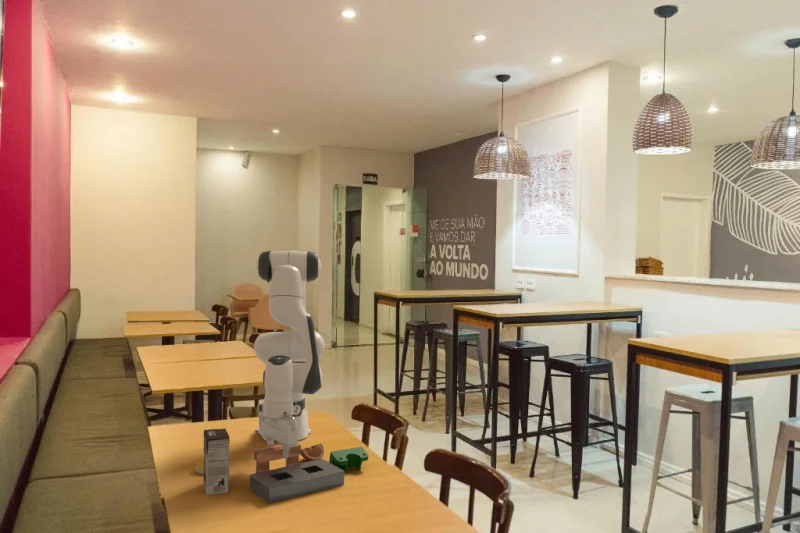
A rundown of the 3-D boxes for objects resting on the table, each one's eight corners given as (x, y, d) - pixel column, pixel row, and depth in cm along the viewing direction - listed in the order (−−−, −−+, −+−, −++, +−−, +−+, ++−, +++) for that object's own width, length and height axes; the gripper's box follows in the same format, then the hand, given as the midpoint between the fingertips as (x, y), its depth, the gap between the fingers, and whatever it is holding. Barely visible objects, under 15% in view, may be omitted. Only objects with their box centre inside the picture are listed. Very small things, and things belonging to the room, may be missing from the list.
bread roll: (197, 467, 191) (197, 454, 191) (226, 466, 193) (226, 453, 193) (192, 476, 183) (193, 463, 183) (223, 475, 185) (223, 462, 185)
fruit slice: (306, 466, 193) (307, 451, 193) (294, 461, 198) (294, 446, 198) (327, 460, 199) (327, 445, 199) (315, 455, 204) (315, 440, 204)
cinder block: (249, 488, 174) (249, 474, 174) (321, 471, 189) (322, 458, 189) (269, 503, 164) (269, 488, 164) (344, 484, 179) (344, 470, 179)
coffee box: (202, 484, 177) (203, 429, 176) (225, 481, 179) (225, 427, 179) (205, 495, 168) (206, 438, 168) (229, 492, 171) (230, 436, 171)
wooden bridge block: (253, 475, 184) (254, 449, 184) (294, 466, 193) (295, 441, 193) (259, 479, 181) (259, 453, 181) (300, 470, 189) (301, 445, 189)
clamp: (340, 486, 188) (333, 464, 185) (332, 476, 193) (325, 454, 189) (373, 467, 193) (367, 445, 189) (364, 457, 198) (358, 436, 194)
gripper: (303, 415, 180) (303, 461, 180) (273, 401, 196) (272, 443, 196) (284, 418, 176) (283, 465, 176) (255, 404, 192) (254, 447, 193)
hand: (277, 453), depth 187 cm, fingers open, 8 cm apart
